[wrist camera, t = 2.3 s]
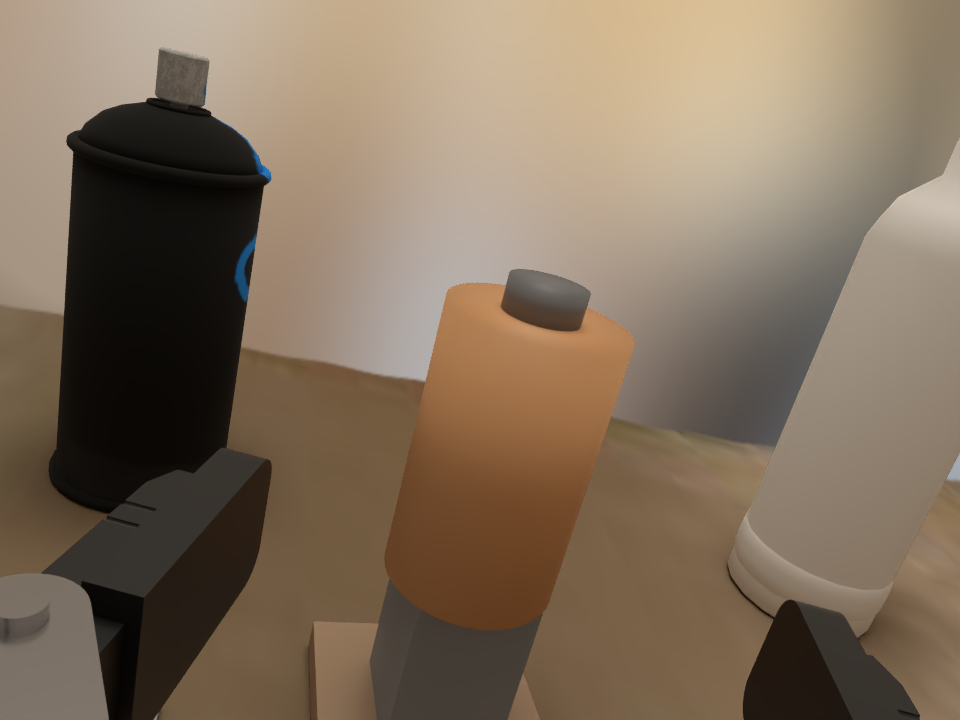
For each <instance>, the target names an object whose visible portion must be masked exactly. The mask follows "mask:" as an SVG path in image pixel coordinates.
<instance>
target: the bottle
mask: <svg viewBox="0 0 960 720" xmlns="http://www.w3.org/2000/svg"><path fill="white" fill-rule="evenodd" d="M959 453H960V138H959V140H958V142H957V145H956V147H955V149H954V151H953V154H952V156H951V158H950V160H949V162H948V165H947V167H946V169H945V171H944V174H943V175H942V176H940V177H938V178H936V179H934V180H932V181H930V182H928V183H926V184H924V185H921V186H920V187H917V188H916V189H914V190H911V191H909V192H907V193H905V194H903V195H901V196H899V197H898V198H897V199H896V200H895V201H894V202H893V203H892V204H891V206H890V207H889V208H888V209H887V210H886V211H885V212H884V213H883V214H882V215H881V217H880V218H879V219H878V220H877V222H876V223H875V224H874V225H873V226H872V228H871V229H870V230H869V232H868V233H867V234H866V236H865V238H864V240H863V242H862V245H861V247H860V250H859V252H858V254H857V257H856V259H855V261H854V264H853V266H852V268H851V271H850V273H849V276H848V278H847V280H846V283H845V285H844V287H843V290H842V292H841V294H840V297H839V299H838V301H837V304H836V306H835V309H834V311H833V313H832V316H831V318H830V320H829V323H828V325H827V327H826V330H825V332H824V335H823V337H822V339H821V342H820V344H819V346H818V349H817V351H816V353H815V356H814V358H813V361H812V363H811V365H810V368H809V370H808V372H807V375H806V377H805V379H804V382H803V384H802V387H801V389H800V391H799V394H798V396H797V399H796V401H795V403H794V405H793V408H792V410H791V413H790V415H789V417H788V420H787V422H786V424H785V427H784V429H783V431H782V434H781V436H780V439H779V441H778V443H777V446H776V448H775V450H774V453H773V455H772V457H771V460H770V462H769V465H768V467H767V469H766V472H765V474H764V476H763V479H762V481H761V483H760V486H759V488H758V490H757V493H756V495H755V498H754V500H753V502H752V505H751V507H750V509H749V510H748V512H747V514H746V515H745V517H744V519H743V521H742V523H741V525H740V528H739V530H738V532H737V535H736V538H735V541H734V547H733V550H732V552H731V554H730V557H729V559H728V561H727V563H728V567H729V571H730V575H731V577H732V578H733V580H734V581H735V583H736V584H737V585H738V587H739V588H740V589H741V591H742V592H743V594H744V595H745V596H747V597H748V598H749V599H750V600H751V601H752V602H754V603H755V604H756V605H757V606H758V607H759V608H761V609H762V610H763V611H765V612H766V613H768V614H770V615H771V616H773V617H775V616H776V614H777V612H778V610H779V608H780V606H781V605H782V604H783V603H784V602H785V601H786V600H795V601H799V602H803V603H806V604H810V605H814V606H818V607H821V608H825V609H829V610H833V611H836V612H839V613H841V614H843V615H844V616H845V618H846V619H847V621H848V623H849V625H850V626H851V628H852V630H853V632H854V634H855V635H856V637H857V638H858V637H859V636H861V635H862V634H863V633H865V632H866V631H868V629H869V627H870V625H871V623H872V621H873V619H874V617H875V615H876V613H878V612H879V611H880V610H881V608H882V607H883V605H884V603H885V601H886V599H887V597H888V596H889V593H890V591H891V589H892V585H893V581H894V579H895V577H896V575H897V573H898V571H899V569H900V567H901V565H902V563H903V561H904V559H905V557H906V555H907V554H908V552H909V550H910V548H911V546H912V544H913V542H914V540H915V538H916V536H917V534H918V532H919V530H920V528H921V527H922V525H923V523H924V521H925V519H926V517H927V515H928V513H929V511H930V509H931V507H932V505H933V503H934V501H935V500H936V498H937V496H938V494H939V492H940V490H941V488H942V486H943V484H944V482H945V480H946V478H947V476H948V474H949V472H950V471H951V469H952V467H953V464H954V463H955V461H956V459H957V457H958V455H959Z"/></svg>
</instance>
